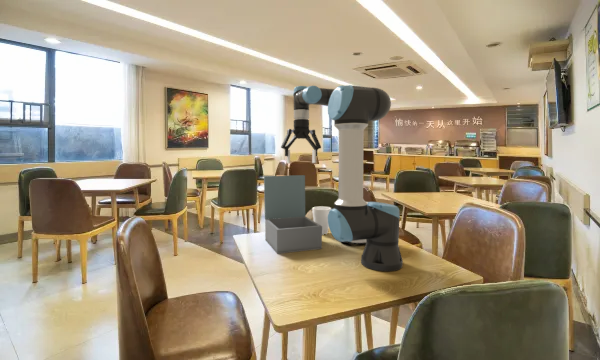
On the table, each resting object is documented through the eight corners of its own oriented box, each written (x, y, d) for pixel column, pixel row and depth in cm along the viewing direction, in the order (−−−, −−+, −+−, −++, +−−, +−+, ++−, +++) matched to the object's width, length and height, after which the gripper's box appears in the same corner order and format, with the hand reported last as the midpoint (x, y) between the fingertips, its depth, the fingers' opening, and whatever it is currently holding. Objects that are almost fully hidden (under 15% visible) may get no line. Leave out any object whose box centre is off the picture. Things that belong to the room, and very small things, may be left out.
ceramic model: (324, 229, 171) (325, 211, 170) (304, 230, 169) (304, 211, 168) (318, 223, 185) (319, 206, 184) (299, 224, 183) (299, 206, 182)
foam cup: (309, 234, 162) (309, 208, 161) (316, 230, 170) (317, 205, 169) (326, 236, 158) (326, 210, 156) (333, 232, 166) (334, 207, 164)
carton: (321, 248, 139) (322, 226, 138) (277, 253, 132) (277, 229, 131) (305, 236, 158) (305, 216, 157) (265, 240, 151) (265, 219, 150)
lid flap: (304, 175, 156) (296, 174, 167) (264, 176, 149) (258, 175, 160) (305, 216, 157) (297, 213, 168) (265, 219, 150) (259, 215, 161)
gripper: (321, 121, 165) (321, 162, 167) (274, 119, 156) (274, 163, 157) (327, 119, 158) (327, 162, 160) (279, 117, 149) (279, 163, 150)
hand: (301, 163), depth 158 cm, fingers open, 13 cm apart
